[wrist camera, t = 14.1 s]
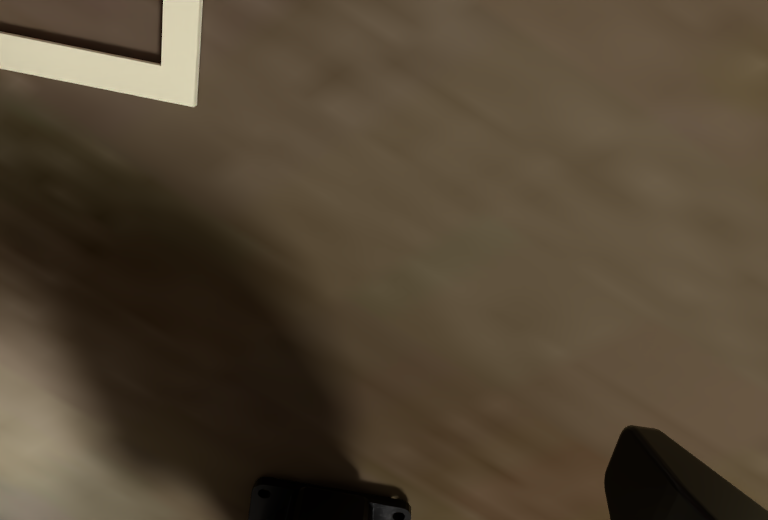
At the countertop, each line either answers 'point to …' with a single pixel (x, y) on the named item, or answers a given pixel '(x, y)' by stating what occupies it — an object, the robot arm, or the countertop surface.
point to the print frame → (120, 60)
